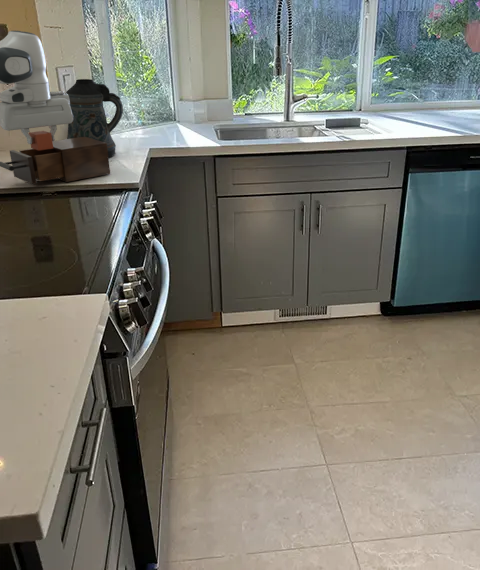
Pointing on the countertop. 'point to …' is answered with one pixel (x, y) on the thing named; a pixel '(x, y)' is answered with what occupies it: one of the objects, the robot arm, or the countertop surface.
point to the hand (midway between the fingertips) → (41, 142)
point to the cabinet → (82, 158)
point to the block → (41, 140)
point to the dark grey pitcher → (93, 112)
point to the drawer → (35, 165)
